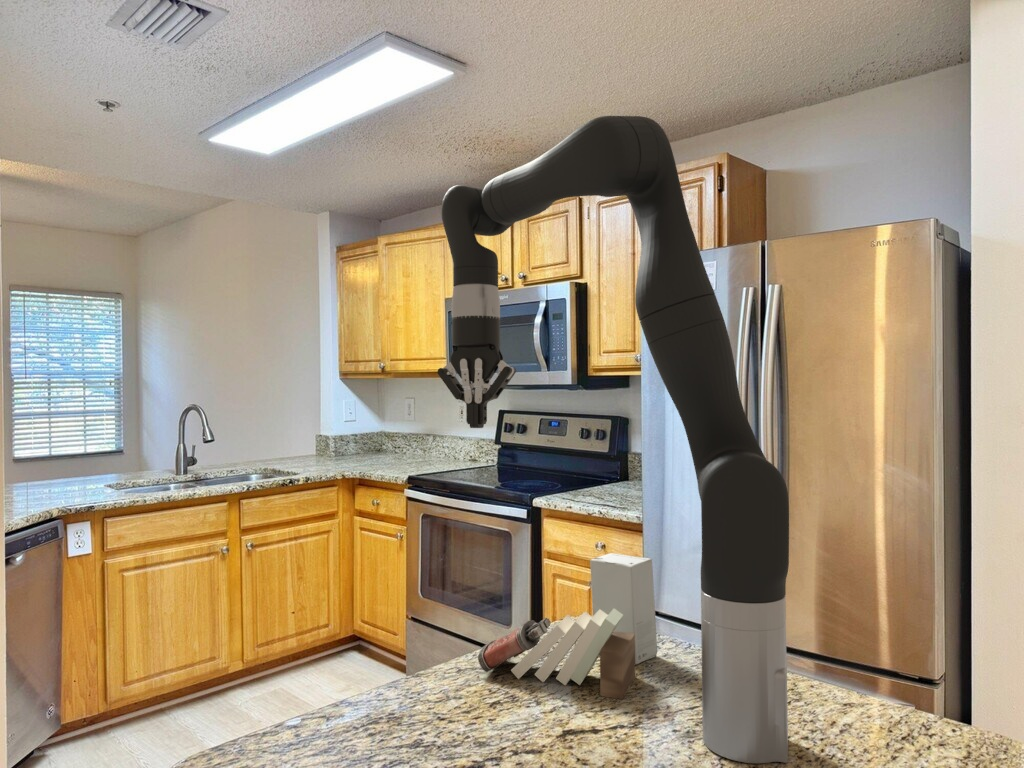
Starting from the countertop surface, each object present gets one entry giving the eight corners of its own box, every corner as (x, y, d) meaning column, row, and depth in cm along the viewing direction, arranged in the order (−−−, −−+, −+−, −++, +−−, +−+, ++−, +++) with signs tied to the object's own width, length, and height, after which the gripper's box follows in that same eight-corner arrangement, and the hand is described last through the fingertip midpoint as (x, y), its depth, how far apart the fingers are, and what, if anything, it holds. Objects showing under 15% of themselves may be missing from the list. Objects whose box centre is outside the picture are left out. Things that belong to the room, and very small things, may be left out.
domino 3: (575, 672, 102) (609, 615, 100) (565, 685, 97) (600, 626, 96) (566, 665, 102) (599, 609, 101) (555, 678, 98) (590, 619, 96)
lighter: (486, 676, 100) (544, 644, 98) (474, 654, 101) (532, 622, 99) (503, 658, 108) (557, 628, 106) (492, 638, 109) (546, 608, 106)
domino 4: (570, 678, 97) (605, 618, 95) (580, 665, 102) (613, 608, 100) (579, 685, 97) (615, 625, 95) (589, 672, 101) (623, 614, 100)
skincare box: (658, 656, 108) (656, 558, 108) (634, 667, 104) (633, 565, 104) (614, 643, 114) (613, 550, 114) (590, 652, 110) (589, 556, 110)
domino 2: (554, 669, 103) (593, 618, 101) (543, 682, 98) (584, 629, 96) (545, 662, 104) (585, 611, 101) (534, 674, 99) (575, 621, 97)
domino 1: (530, 666, 104) (575, 623, 102) (518, 679, 100) (565, 633, 97) (523, 658, 105) (568, 614, 102) (510, 670, 100) (557, 624, 98)
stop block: (635, 676, 100) (634, 634, 100) (622, 699, 93) (622, 653, 93) (614, 673, 101) (613, 631, 101) (600, 695, 94) (599, 650, 94)
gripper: (524, 316, 111) (525, 427, 111) (448, 320, 116) (449, 426, 116) (506, 311, 104) (507, 429, 104) (426, 316, 109) (427, 428, 109)
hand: (476, 427), depth 110 cm, fingers closed
